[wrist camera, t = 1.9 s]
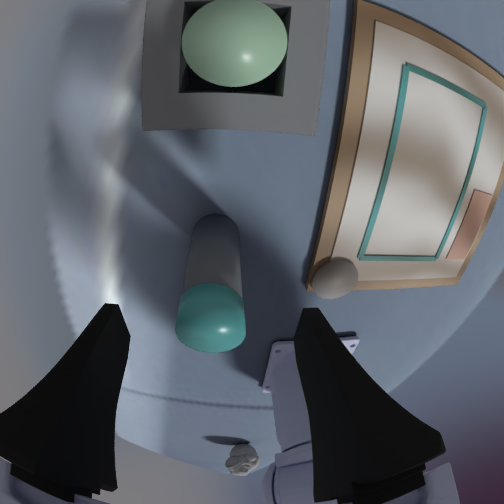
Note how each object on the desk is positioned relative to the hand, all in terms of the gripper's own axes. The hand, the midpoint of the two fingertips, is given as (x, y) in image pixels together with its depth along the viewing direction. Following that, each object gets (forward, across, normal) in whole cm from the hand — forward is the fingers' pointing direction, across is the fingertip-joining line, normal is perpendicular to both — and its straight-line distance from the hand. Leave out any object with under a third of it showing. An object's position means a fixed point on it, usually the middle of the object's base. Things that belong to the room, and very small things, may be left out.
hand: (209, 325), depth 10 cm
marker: (+7, 0, 0) cm, 7 cm away
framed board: (+7, -14, -5) cm, 16 cm away
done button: (+6, -1, -10) cm, 11 cm away
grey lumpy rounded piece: (+7, -4, +46) cm, 47 cm away
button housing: (+7, -1, -10) cm, 12 cm away
